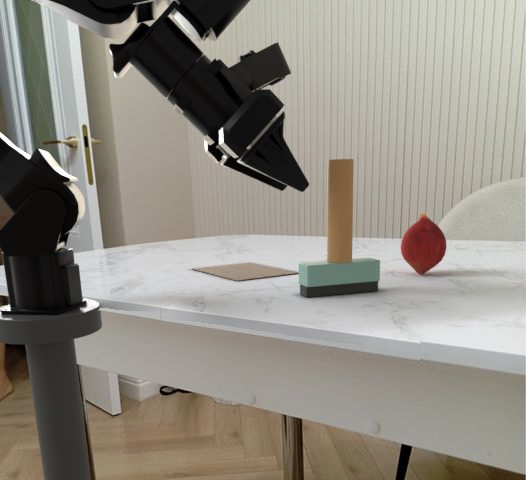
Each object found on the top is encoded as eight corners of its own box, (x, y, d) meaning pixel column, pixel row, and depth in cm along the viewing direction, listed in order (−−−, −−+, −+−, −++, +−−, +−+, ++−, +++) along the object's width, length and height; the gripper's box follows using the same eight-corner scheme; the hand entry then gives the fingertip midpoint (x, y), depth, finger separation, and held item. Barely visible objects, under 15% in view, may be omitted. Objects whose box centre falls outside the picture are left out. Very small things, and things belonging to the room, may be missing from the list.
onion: (450, 272, 80) (454, 212, 78) (436, 279, 75) (439, 214, 73) (408, 270, 83) (411, 211, 81) (392, 275, 78) (395, 214, 76)
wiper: (307, 298, 65) (307, 159, 61) (298, 294, 68) (297, 160, 64) (380, 291, 68) (383, 158, 64) (368, 287, 70) (371, 159, 66)
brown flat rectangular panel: (299, 273, 83) (299, 272, 83) (237, 281, 78) (237, 280, 78) (248, 263, 94) (248, 262, 94) (191, 269, 89) (191, 268, 89)
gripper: (256, -16, 49) (378, 122, 54) (227, 36, 67) (321, 137, 72) (168, 86, 50) (296, 213, 55) (162, 111, 68) (260, 206, 73)
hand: (295, 188), depth 64 cm, fingers open, 9 cm apart
